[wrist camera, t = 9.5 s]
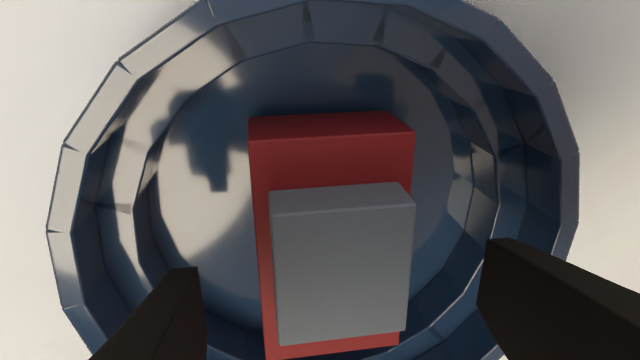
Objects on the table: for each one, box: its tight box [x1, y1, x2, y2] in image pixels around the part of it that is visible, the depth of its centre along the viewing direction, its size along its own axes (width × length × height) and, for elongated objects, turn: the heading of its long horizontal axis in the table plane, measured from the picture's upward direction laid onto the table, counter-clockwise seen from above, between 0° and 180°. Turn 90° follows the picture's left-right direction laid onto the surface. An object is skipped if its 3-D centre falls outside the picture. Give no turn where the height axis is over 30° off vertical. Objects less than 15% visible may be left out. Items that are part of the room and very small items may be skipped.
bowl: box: [46, 0, 580, 360], centre depth 13 cm, size 14×14×4 cm
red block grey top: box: [247, 110, 416, 360], centre depth 12 cm, size 4×7×4 cm, turn 1°
